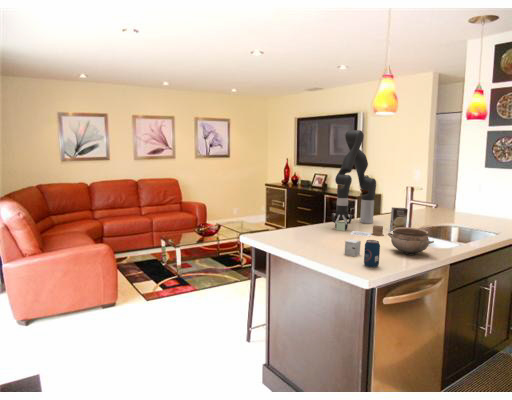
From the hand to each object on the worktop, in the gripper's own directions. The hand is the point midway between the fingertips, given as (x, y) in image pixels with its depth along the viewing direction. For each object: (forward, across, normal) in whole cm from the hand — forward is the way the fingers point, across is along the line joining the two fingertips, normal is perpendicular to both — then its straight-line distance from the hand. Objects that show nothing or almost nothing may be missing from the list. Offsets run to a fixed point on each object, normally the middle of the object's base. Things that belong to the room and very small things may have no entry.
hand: (341, 229), depth 265 cm
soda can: (+1, -30, +72) cm, 78 cm away
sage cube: (+1, 0, 0) cm, 1 cm away
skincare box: (+1, -18, +56) cm, 59 cm away
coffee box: (+1, -35, -14) cm, 38 cm away
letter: (+1, -14, +5) cm, 15 cm away
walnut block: (+1, -24, +3) cm, 24 cm away
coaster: (+1, -24, +3) cm, 24 cm away
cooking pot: (+1, -45, +39) cm, 60 cm away
